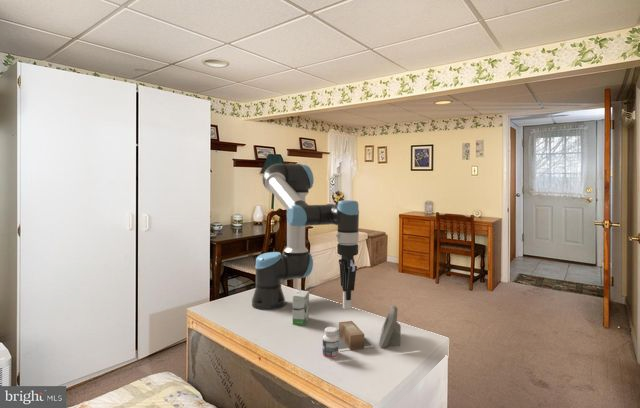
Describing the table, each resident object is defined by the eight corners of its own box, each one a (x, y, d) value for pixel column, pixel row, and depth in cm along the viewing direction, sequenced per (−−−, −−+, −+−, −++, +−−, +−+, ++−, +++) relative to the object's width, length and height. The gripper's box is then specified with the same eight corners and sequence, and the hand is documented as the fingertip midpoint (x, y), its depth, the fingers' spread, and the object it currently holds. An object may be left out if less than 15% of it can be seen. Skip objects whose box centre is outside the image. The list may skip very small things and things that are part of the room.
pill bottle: (323, 351, 120) (323, 325, 120) (338, 352, 120) (339, 326, 119) (321, 359, 115) (322, 332, 115) (338, 360, 115) (338, 332, 114)
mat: (325, 332, 136) (325, 330, 136) (355, 328, 139) (355, 327, 139) (340, 352, 119) (340, 351, 119) (373, 348, 123) (373, 347, 123)
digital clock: (383, 330, 138) (383, 303, 138) (406, 334, 134) (407, 306, 134) (370, 347, 124) (371, 317, 123) (396, 353, 120) (397, 321, 119)
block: (339, 322, 132) (350, 335, 120) (351, 320, 133) (364, 333, 121) (338, 335, 132) (350, 350, 120) (351, 334, 133) (364, 348, 122)
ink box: (304, 326, 141) (304, 296, 140) (292, 325, 142) (292, 295, 141) (309, 318, 149) (309, 290, 149) (297, 317, 150) (297, 289, 150)
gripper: (332, 240, 135) (331, 302, 136) (343, 247, 122) (343, 315, 123) (351, 240, 137) (350, 301, 138) (364, 246, 124) (363, 313, 125)
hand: (347, 307), depth 131 cm, fingers closed
